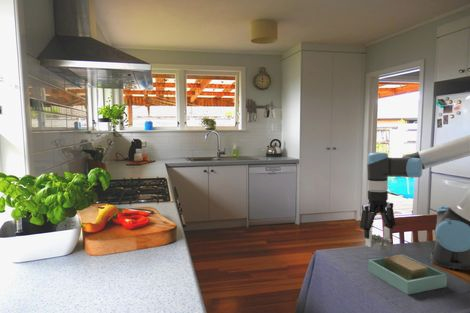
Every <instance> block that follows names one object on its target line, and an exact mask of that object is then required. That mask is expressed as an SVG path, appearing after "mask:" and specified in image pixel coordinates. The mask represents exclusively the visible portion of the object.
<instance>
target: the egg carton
mask: <svg viewBox="0 0 470 313" xmlns="http://www.w3.org/2000/svg"><path fill="white" fill-rule="evenodd" d="M392 242H393V239H391V238H390V239H387V238H384V236H381V235H379V234H378V235H376V234H375V233H374V234H373V233H372V247H373V250H377V251H382V250H386V251H390V249H392V247H391V246H392Z"/></svg>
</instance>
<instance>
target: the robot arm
mask: <svg viewBox="0 0 470 313" xmlns="http://www.w3.org/2000/svg"><path fill="white" fill-rule="evenodd" d="M388 155H389V154H388V153H387V152H370V153H368V155H367V163H366V165H367V200H368V202H367V204H362V205H361V210H362V212H361V218H360V224H359V229H361V230H363V231H364V232H363V233H364V234H363V235H364V236H363V237H364V238H365V246H367V247H369V248H371V247H373V246H372V234H373V233H372V230H371V228H372V225H373V223H374V221H375V217H376V216H377V215H378V214H380V216H381V218H382V222H383V224H384V226H383V237H384V238H387V239H391V236H392V229H393V228H394V227H395V226H396V220H395V213H394V203H393V202H389V201H388V199H389V197H388V196H389V194H388V190H389V189H388V188H389V187H388V186H389V183H388V182H389V179H388V178H389V177H397V178H398V177H399V178H409V179H412V178H421V177H422V176H423V170H426V169H429V168H434V167H436V166H439V165H443V164H446V163H449V162H453V161H456V160H460V159H464V158H468V157H470V134H469V135H466V136H465V135H464V136H462V137H459V138H456V139H454V140H451V141H450V140H449V141H447V142H444V143H441V144H437V145H435V146H432V147H428V148H426V149H423V150H420V151H416V152H414V153H411V154H406V155H403V156H402V157H389V156H388ZM434 235H435V238H436V241H435V243H434V246H433V247H432V250H431V252H430V261H431V262H432V263H434V264H436V265H437V266H441V267H442V268H446V267H447V268H446V269H450V268H453V269H452V270H455V269H459V270H458V271H470V188H469V189H468V190H467V191H466V192H465V194H464V195H463V197H462V198H461V200H460V201H459V202H458V203H457V204H455V205H438V207H437V210H436V224H435V230H434Z"/></svg>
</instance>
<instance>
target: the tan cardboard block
mask: <svg viewBox="0 0 470 313" xmlns="http://www.w3.org/2000/svg"><path fill="white" fill-rule="evenodd" d="M402 255H403V254H397V255H396V254H395V255H389V256H385V268H386V269H388V270H389V271H391V272H393V273H395V274H397V275H398V276H400V277H402V278H404V279H406V280H407V281H408V280H414V279H419V278H424V277H427V270H428V267H425V266H423V265H421V264H419V263H417V262H415V261H413V260H410V259H408V258H406V257H404V256H402Z"/></svg>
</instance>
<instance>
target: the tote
mask: <svg viewBox="0 0 470 313" xmlns="http://www.w3.org/2000/svg"><path fill="white" fill-rule="evenodd" d="M401 255H402V256H404V257H406V258H408V259H410V260H413V261H415V262H417V263H419V264H421V265H423V266H425V267H428V270H427V277H424V278H419V279H414V280H408V281H407V280H406V279H404V278H402V277H400V276H398V275H397V274H395V273H393V272H391V271H389V270H388V269H386V268H385V257H386V256H385V257H379V258H372V259H371V258H370V259H368V260H367V272H368V273H371V274H372V275H374V276H375V277H377V278H379V279H381V280H382V281H384V282H386V283H387V284H389V285H390V286H392V287H394V288H395V289H398V290H399V291H400V292H402V293H404V294H406V295H408V296H409V295H413V294H417V293H424V292H427V291H433V290H436V289H437V290H438V289H443V288H447V287H448V286H447V284H448V283H447V281H448V280H447V279H448V274H447V273H444V272H442V271H440V270H438V269H436V268H433V267H431V266H429V265H427V264H424V263H422V262H420V261H418V260H416V259H414V258H412V257H410V256H408V255H405V254H401Z"/></svg>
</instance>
